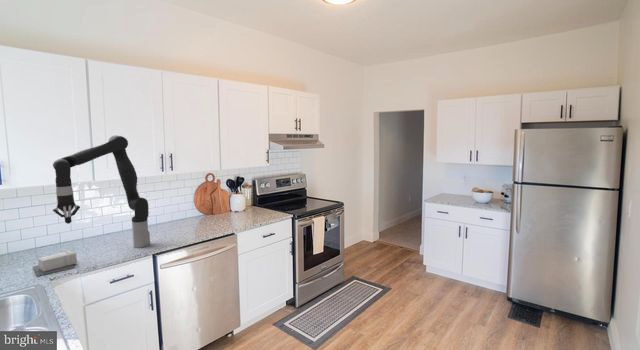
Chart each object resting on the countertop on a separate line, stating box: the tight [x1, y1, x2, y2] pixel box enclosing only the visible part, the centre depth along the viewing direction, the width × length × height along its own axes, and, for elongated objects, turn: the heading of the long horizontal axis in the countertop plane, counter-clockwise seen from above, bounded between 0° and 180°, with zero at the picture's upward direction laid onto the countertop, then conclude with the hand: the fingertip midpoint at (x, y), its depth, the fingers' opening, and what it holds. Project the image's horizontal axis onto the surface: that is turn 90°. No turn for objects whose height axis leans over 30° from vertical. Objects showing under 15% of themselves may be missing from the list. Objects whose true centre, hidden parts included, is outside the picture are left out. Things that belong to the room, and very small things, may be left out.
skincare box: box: [37, 250, 78, 272], centre depth 183 cm, size 8×7×16 cm
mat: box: [32, 264, 75, 278], centre depth 183 cm, size 16×18×1 cm
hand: (68, 223), depth 188 cm, fingers closed
